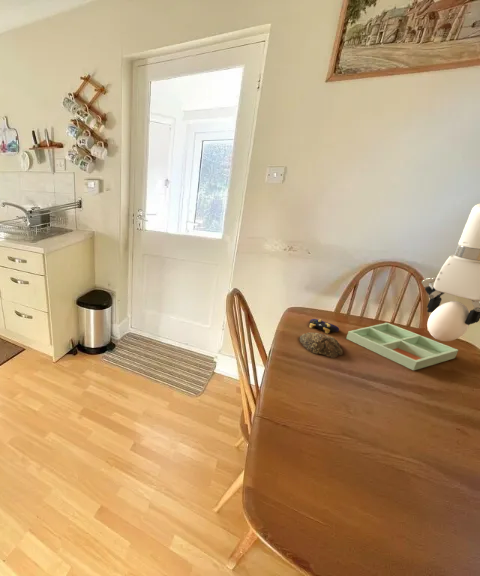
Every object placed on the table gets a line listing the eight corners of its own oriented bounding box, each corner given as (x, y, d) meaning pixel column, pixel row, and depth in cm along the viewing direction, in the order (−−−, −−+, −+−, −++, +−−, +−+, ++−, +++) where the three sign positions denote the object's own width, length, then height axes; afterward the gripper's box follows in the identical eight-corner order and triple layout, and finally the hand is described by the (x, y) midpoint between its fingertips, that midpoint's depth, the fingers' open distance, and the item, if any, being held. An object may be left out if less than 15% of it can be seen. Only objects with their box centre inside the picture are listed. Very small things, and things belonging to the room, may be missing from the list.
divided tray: (384, 330, 120) (387, 322, 119) (454, 359, 102) (458, 349, 101) (345, 339, 115) (348, 331, 113) (412, 371, 96) (417, 362, 95)
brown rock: (296, 336, 117) (299, 324, 116) (336, 342, 113) (339, 330, 111) (304, 354, 106) (307, 341, 104) (348, 361, 102) (352, 348, 100)
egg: (449, 335, 89) (466, 297, 85) (467, 349, 83) (486, 309, 78) (416, 331, 92) (430, 294, 87) (431, 344, 85) (447, 305, 81)
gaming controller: (340, 329, 120) (338, 322, 116) (333, 340, 119) (331, 334, 116) (312, 319, 127) (310, 313, 124) (306, 330, 127) (303, 324, 123)
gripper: (539, 260, 72) (505, 329, 78) (441, 244, 87) (419, 303, 93) (521, 264, 69) (487, 334, 76) (424, 247, 85) (402, 307, 91)
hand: (450, 316), depth 84 cm, fingers closed on egg, 7 cm apart
